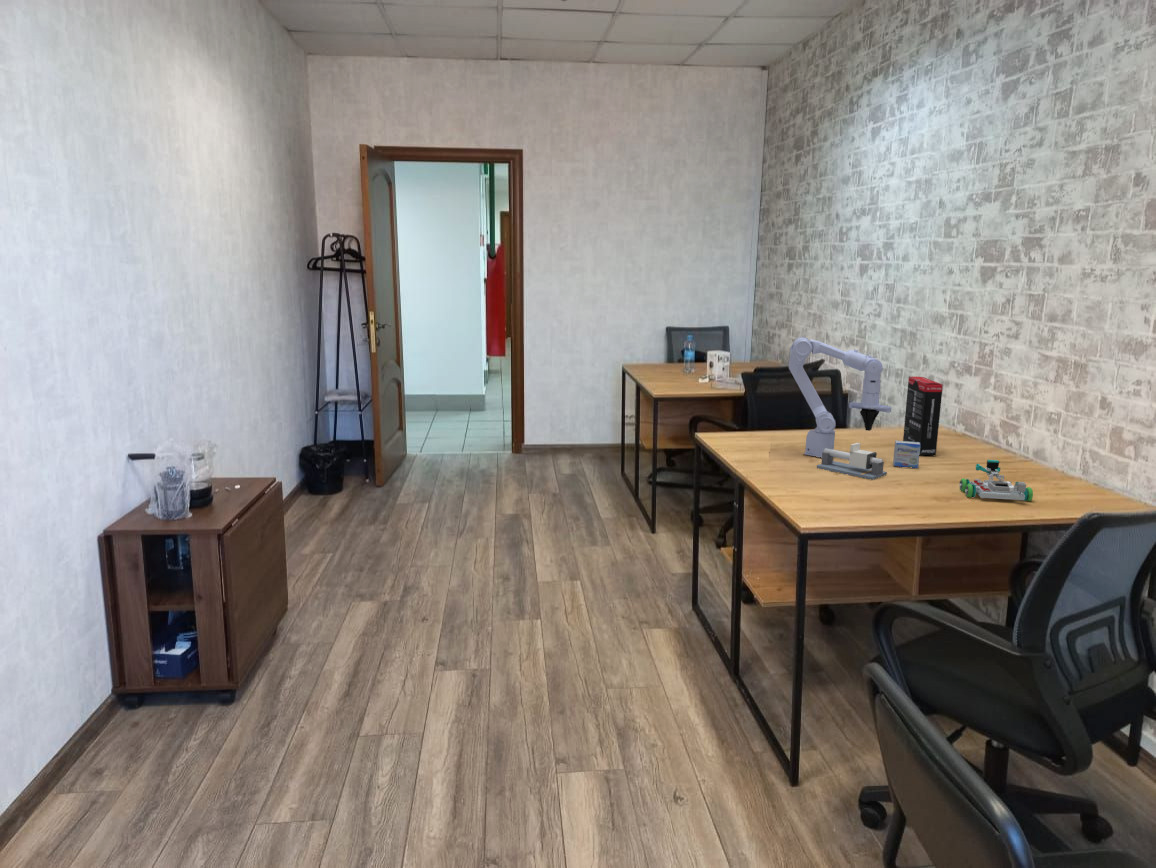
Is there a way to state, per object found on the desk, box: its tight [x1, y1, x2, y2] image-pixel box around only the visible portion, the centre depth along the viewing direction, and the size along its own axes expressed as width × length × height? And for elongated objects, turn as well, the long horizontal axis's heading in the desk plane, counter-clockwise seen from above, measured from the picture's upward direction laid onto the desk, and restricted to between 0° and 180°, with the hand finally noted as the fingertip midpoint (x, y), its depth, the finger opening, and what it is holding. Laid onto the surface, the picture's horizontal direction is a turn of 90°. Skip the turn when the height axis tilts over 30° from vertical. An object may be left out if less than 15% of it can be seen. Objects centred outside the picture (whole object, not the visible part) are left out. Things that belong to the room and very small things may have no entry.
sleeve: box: [848, 442, 874, 469], centre depth 263 cm, size 6×5×7 cm
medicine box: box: [892, 440, 921, 469], centre depth 274 cm, size 8×4×9 cm, turn 73°
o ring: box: [866, 451, 878, 469], centre depth 261 cm, size 1×5×5 cm, turn 134°
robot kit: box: [958, 459, 1034, 502], centre depth 244 cm, size 19×25×9 cm
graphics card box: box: [902, 375, 944, 455], centre depth 294 cm, size 17×7×27 cm, turn 179°
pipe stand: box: [816, 448, 888, 481], centre depth 266 cm, size 20×10×6 cm, turn 43°
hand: (868, 430), depth 283 cm, fingers closed
